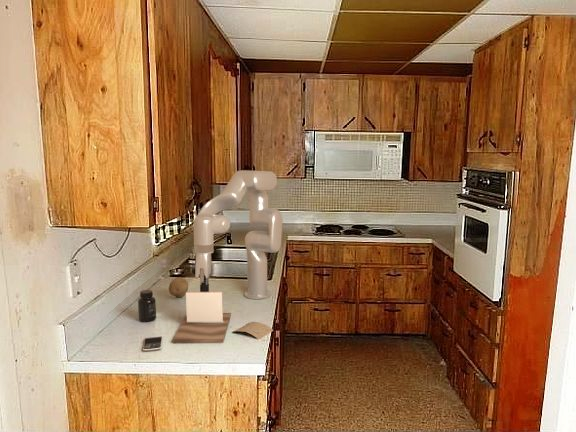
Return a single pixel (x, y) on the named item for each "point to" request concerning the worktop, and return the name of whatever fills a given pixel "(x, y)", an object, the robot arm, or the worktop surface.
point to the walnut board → (202, 331)
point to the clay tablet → (256, 329)
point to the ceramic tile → (204, 307)
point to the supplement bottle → (146, 306)
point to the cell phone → (152, 344)
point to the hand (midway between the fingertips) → (204, 293)
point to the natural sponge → (178, 287)
